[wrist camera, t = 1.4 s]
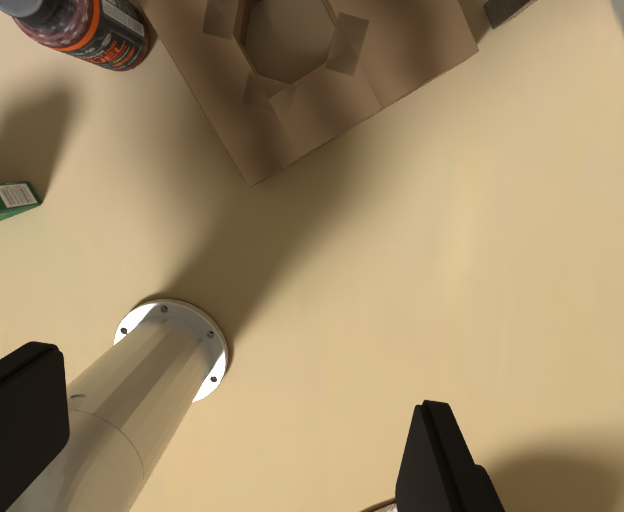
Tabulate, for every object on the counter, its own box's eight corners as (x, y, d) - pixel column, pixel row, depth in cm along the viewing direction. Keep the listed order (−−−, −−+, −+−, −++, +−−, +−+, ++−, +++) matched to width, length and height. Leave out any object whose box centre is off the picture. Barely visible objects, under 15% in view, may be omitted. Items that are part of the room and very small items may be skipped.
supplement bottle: (112, 85, 34) (4, 54, 23) (74, 20, 32) (-60, -46, 21) (165, 52, 33) (78, 2, 22) (127, -17, 31) (15, -106, 20)
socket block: (257, 183, 35) (248, 187, 32) (147, -2, 31) (125, -20, 28) (463, 61, 31) (478, 50, 28) (366, -169, 27) (370, -213, 24)
